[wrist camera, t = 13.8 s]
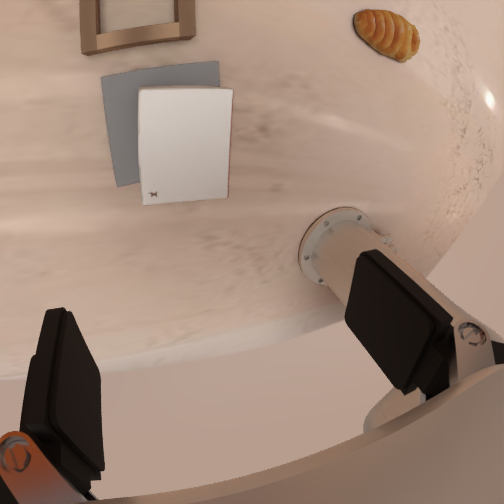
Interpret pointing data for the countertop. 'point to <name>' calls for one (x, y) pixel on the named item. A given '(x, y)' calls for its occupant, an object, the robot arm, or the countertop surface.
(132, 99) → the mat
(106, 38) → the holder
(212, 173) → the small box
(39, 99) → the countertop surface
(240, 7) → the countertop surface
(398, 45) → the pastry
